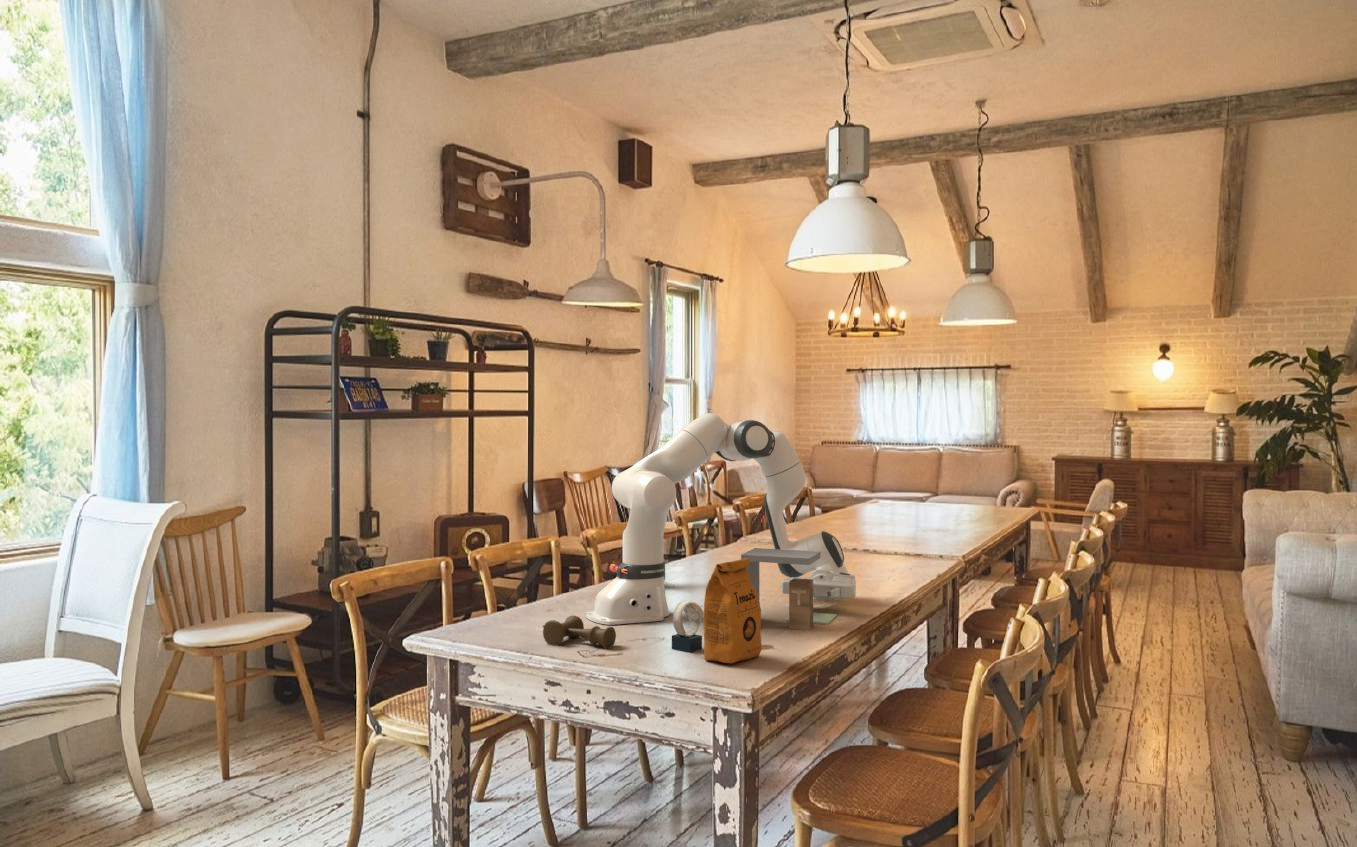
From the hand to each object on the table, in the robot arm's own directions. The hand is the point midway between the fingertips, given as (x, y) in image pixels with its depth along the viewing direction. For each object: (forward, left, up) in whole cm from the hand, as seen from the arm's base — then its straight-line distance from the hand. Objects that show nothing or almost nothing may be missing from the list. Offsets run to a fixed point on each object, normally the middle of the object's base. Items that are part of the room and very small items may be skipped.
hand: (812, 593), depth 251 cm
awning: (-13, -3, -7) cm, 14 cm away
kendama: (-65, +9, -7) cm, 66 cm away
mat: (-1, 0, -7) cm, 7 cm away
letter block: (-9, -7, -7) cm, 13 cm away
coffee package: (-41, -23, -7) cm, 48 cm away
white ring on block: (-45, -10, -7) cm, 47 cm away
